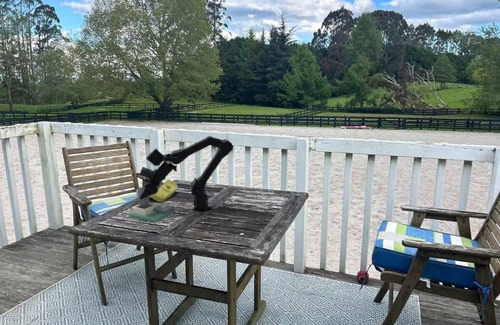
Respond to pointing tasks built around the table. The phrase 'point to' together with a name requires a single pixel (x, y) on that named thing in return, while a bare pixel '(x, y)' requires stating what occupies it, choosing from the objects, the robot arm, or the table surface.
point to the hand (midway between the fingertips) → (140, 195)
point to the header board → (152, 212)
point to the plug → (143, 202)
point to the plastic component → (164, 191)
